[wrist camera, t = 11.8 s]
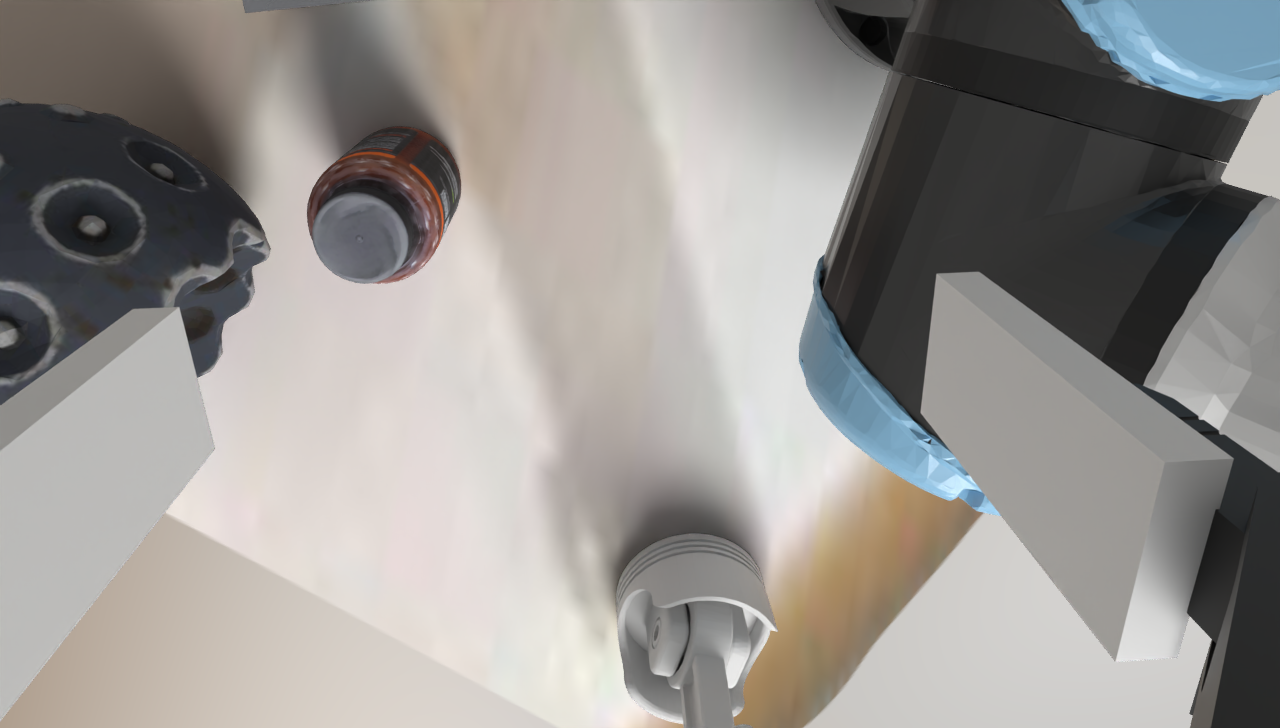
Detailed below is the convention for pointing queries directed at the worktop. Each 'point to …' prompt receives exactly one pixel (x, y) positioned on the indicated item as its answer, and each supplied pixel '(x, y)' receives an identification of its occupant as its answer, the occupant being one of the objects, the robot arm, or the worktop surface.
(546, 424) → the worktop surface
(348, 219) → the supplement bottle
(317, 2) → the channel
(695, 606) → the engine component
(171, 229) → the black thick disc
